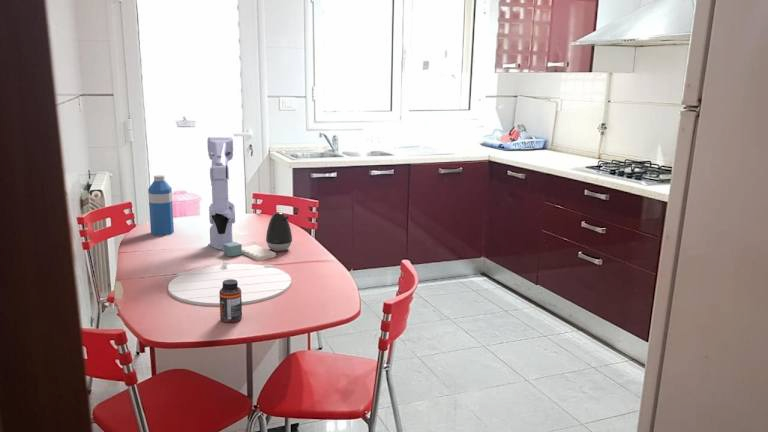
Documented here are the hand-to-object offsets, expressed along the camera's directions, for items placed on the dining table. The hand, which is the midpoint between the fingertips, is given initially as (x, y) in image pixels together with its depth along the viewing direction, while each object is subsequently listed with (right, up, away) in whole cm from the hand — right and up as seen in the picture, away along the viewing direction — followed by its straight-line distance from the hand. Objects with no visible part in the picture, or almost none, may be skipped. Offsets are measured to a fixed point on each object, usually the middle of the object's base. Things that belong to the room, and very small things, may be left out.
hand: (221, 233), depth 224 cm
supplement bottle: (+18, -23, -55) cm, 62 cm away
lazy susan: (+10, -16, -26) cm, 32 cm away
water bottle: (-35, -1, +36) cm, 50 cm away
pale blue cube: (+3, -8, +6) cm, 11 cm away
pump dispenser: (+19, -7, +15) cm, 25 cm away
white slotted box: (+11, -8, +8) cm, 16 cm away
